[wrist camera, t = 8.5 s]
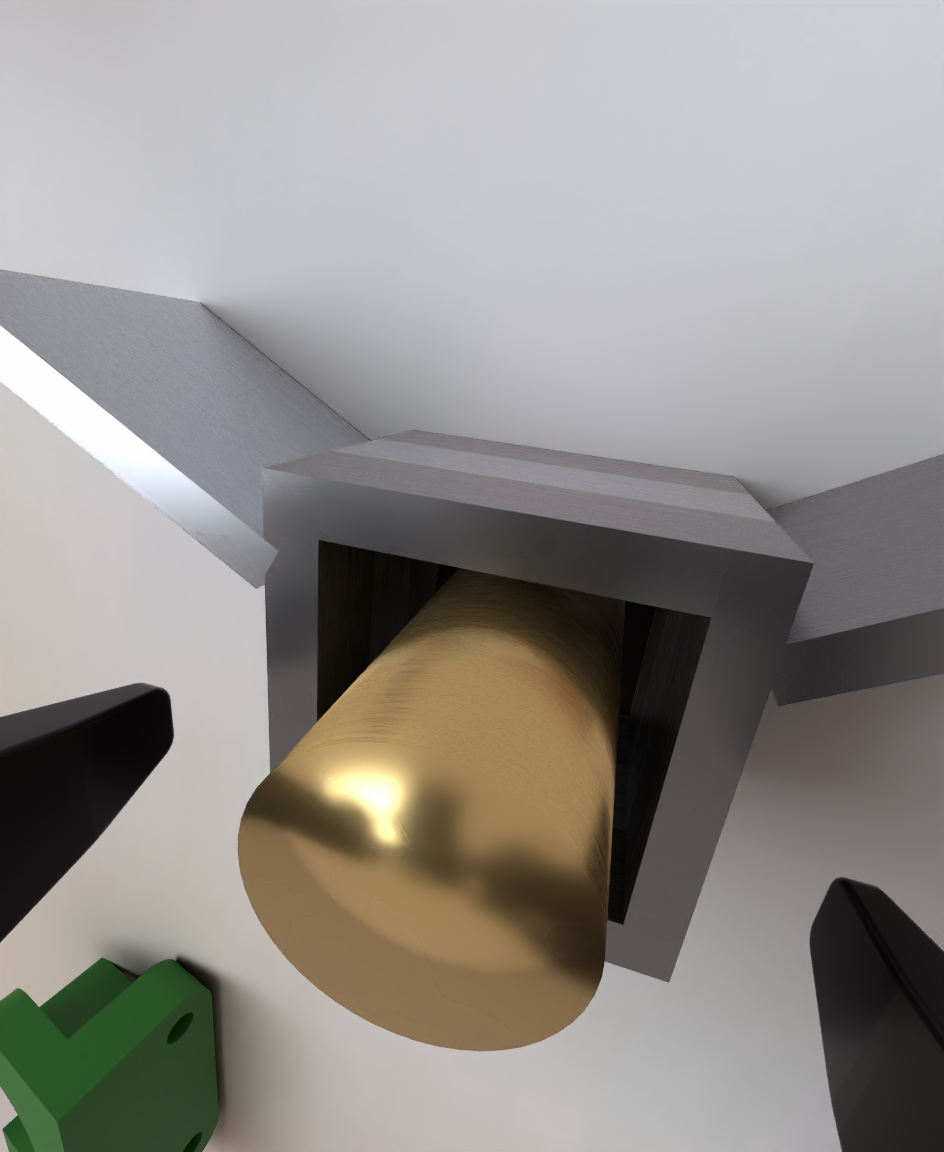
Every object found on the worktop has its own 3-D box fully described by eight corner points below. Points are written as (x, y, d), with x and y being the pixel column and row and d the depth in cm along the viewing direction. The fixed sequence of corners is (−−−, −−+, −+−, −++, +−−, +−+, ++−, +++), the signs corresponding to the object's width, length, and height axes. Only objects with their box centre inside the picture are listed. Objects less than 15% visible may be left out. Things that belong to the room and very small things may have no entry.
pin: (641, 535, 13) (648, 816, 5) (607, 685, 14) (566, 1100, 6) (472, 505, 14) (228, 700, 6) (456, 650, 15) (245, 975, 7)
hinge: (1149, 400, 10) (1793, 434, 4) (931, 823, 13) (1136, 1138, 8) (184, 300, 14) (-107, 253, 9) (208, 641, 17) (12, 763, 12)
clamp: (192, 873, 29) (-20, 961, 20) (277, 938, 26) (74, 1069, 18) (119, 1096, 29) (-122, 1273, 21) (197, 1182, 26) (-42, 1423, 18)
